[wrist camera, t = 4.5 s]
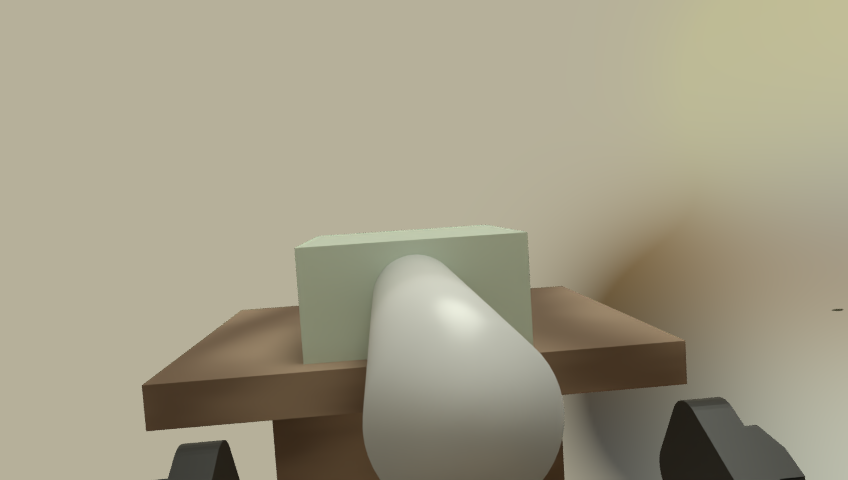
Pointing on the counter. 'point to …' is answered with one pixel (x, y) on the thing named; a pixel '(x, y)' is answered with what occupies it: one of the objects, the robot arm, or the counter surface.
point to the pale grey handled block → (436, 349)
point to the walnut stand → (345, 380)
